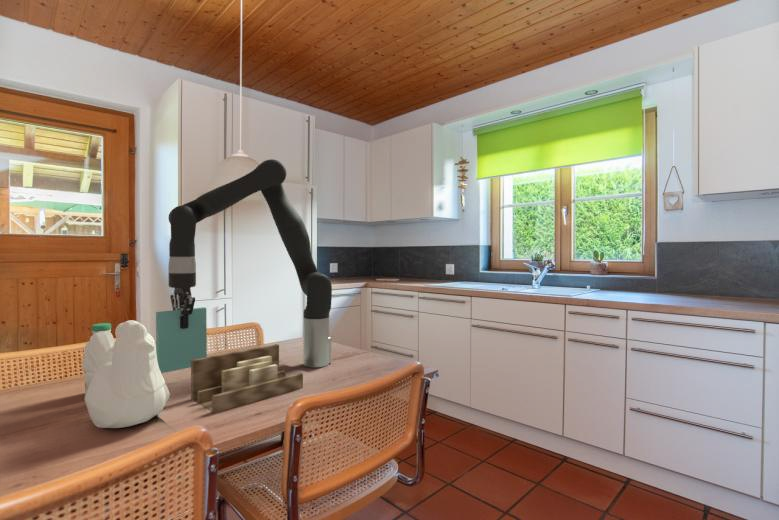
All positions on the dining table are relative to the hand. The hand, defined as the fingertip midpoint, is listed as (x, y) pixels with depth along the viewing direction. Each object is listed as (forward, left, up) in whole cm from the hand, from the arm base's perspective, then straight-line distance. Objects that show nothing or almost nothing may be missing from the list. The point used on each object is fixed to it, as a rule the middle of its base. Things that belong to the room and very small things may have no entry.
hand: (182, 327), depth 126 cm
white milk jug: (+20, +16, -18) cm, 31 cm away
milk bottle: (+19, -8, -18) cm, 27 cm away
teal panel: (0, 0, -13) cm, 13 cm away
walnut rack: (-8, +26, -17) cm, 32 cm away
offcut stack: (-8, +27, -16) cm, 32 cm away
